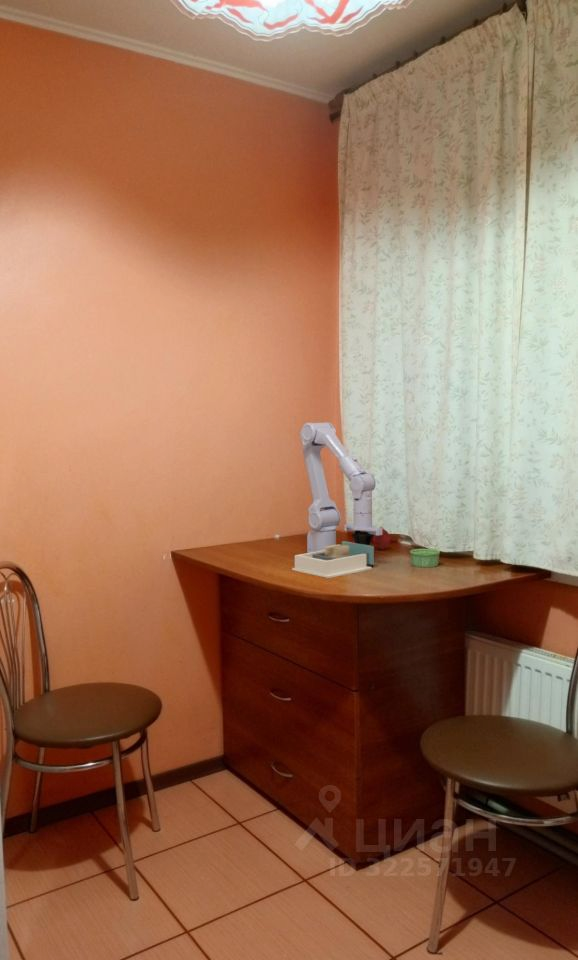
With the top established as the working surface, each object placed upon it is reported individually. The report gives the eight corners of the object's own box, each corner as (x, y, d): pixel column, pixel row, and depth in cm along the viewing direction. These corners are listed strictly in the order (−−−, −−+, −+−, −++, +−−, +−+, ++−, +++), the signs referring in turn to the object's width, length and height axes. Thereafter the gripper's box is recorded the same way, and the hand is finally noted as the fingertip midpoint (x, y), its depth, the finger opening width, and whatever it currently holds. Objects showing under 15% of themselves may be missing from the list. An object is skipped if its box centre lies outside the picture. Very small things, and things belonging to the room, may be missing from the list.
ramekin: (445, 565, 230) (445, 551, 230) (427, 569, 224) (427, 555, 224) (422, 561, 237) (422, 547, 236) (404, 565, 230) (404, 551, 230)
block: (324, 563, 226) (324, 546, 226) (339, 560, 230) (338, 544, 230) (335, 565, 223) (335, 548, 223) (349, 562, 227) (349, 546, 227)
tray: (343, 558, 238) (343, 541, 237) (373, 564, 228) (373, 546, 227) (310, 564, 228) (309, 546, 228) (339, 571, 218) (339, 552, 218)
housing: (334, 561, 237) (334, 547, 237) (371, 569, 225) (371, 554, 225) (292, 570, 226) (291, 554, 225) (328, 578, 214) (328, 562, 213)
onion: (392, 548, 259) (392, 525, 258) (387, 551, 253) (387, 528, 253) (376, 547, 261) (376, 525, 260) (371, 550, 256) (371, 527, 255)
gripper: (337, 511, 236) (337, 554, 237) (371, 515, 225) (371, 560, 226) (353, 509, 240) (353, 551, 241) (386, 513, 229) (387, 557, 230)
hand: (363, 555), depth 234 cm, fingers closed, pressing on tray
